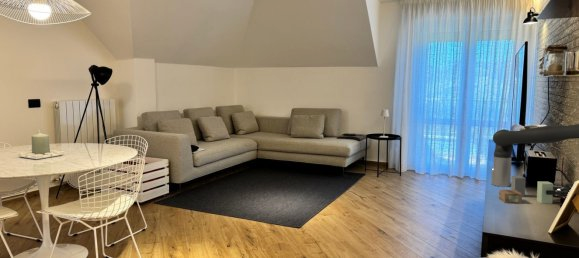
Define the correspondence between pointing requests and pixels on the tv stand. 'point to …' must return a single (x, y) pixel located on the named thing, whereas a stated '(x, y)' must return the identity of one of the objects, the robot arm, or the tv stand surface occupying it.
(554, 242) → the tv stand surface
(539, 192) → the sage green block
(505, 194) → the brown box
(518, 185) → the charcoal block
